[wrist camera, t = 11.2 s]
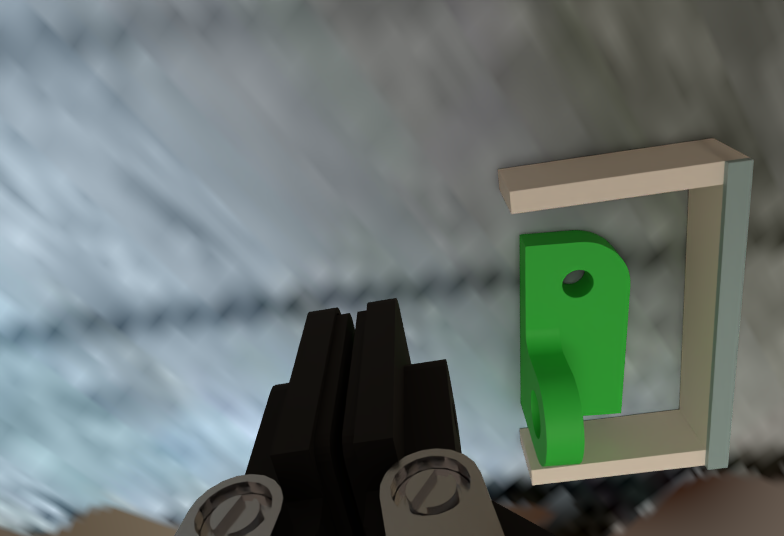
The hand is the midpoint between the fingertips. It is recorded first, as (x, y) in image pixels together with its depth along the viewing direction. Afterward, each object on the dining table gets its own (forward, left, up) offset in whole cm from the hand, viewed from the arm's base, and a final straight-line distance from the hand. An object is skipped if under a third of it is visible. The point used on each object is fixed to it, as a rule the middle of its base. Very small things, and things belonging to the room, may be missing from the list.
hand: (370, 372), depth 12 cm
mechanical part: (-9, +15, -25) cm, 31 cm away
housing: (-11, +14, -25) cm, 31 cm away
